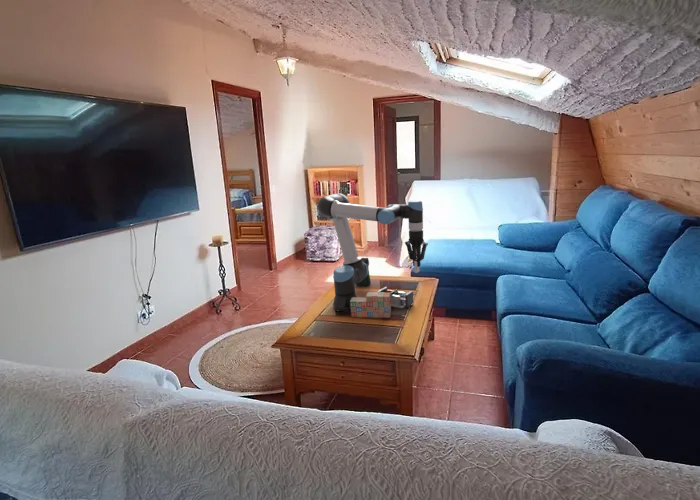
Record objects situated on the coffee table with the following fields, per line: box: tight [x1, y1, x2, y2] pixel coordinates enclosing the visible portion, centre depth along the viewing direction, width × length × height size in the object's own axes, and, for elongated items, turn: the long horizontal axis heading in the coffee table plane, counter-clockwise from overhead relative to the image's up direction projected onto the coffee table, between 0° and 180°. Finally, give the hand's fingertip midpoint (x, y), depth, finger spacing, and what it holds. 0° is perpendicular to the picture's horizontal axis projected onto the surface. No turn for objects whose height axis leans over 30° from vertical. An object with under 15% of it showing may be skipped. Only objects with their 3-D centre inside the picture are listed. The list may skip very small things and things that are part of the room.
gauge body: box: [376, 286, 407, 309], centre depth 235 cm, size 9×17×7 cm, turn 53°
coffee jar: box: [355, 257, 372, 287], centre depth 269 cm, size 10×8×19 cm
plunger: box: [390, 288, 414, 309], centre depth 233 cm, size 9×15×8 cm, turn 53°
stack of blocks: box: [350, 291, 392, 319], centre depth 220 cm, size 21×6×12 cm, turn 78°
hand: (416, 271), depth 223 cm, fingers closed
